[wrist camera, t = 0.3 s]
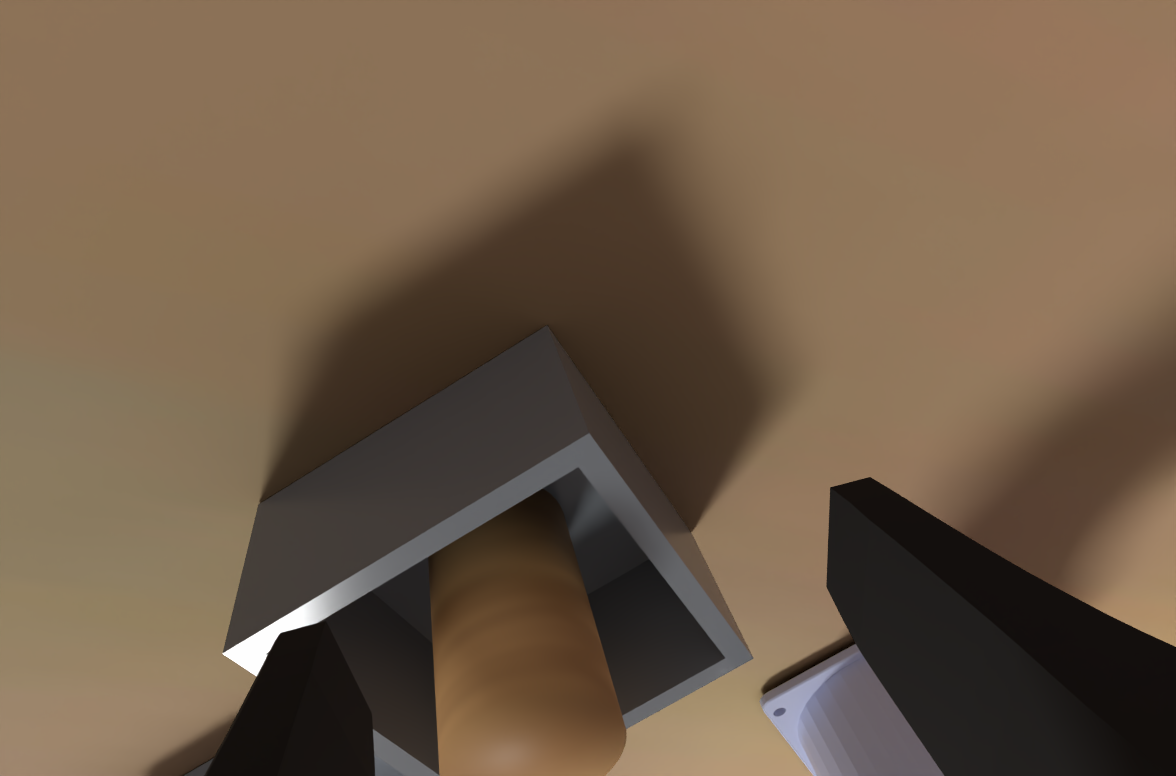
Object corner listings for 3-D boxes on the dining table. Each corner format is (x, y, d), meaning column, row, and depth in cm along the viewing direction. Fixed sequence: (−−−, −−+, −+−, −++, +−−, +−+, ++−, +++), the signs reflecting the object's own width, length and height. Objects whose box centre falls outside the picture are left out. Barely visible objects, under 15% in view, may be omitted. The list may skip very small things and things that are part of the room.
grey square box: (691, 533, 24) (753, 658, 20) (455, 670, 25) (467, 817, 21) (547, 324, 19) (588, 433, 15) (258, 504, 20) (222, 653, 16)
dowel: (589, 539, 23) (656, 750, 17) (478, 604, 23) (506, 833, 17) (518, 454, 20) (568, 663, 15) (398, 527, 21) (399, 759, 15)
